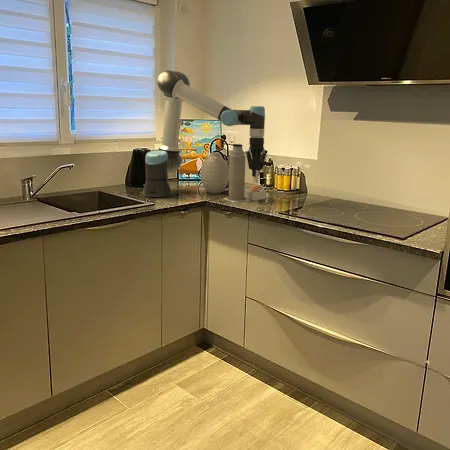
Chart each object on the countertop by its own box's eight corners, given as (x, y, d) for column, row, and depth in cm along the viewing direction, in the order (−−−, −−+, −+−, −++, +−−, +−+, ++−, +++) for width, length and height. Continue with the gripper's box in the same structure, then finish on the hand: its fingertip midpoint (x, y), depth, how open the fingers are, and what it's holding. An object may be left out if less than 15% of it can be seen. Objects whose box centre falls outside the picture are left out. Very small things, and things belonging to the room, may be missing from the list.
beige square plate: (223, 198, 245) (223, 197, 244) (239, 197, 250) (239, 196, 249) (233, 202, 236) (233, 201, 236) (249, 200, 241) (249, 199, 241)
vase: (226, 195, 253) (227, 154, 247) (197, 194, 255) (197, 153, 250) (230, 190, 268) (231, 151, 263) (203, 189, 271) (203, 150, 265)
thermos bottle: (243, 197, 247) (245, 143, 239) (244, 200, 239) (245, 145, 232) (228, 196, 247) (229, 143, 239) (228, 200, 239) (229, 144, 232)
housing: (244, 197, 249) (244, 190, 248) (256, 196, 253) (257, 188, 252) (253, 200, 242) (253, 192, 241) (265, 198, 246) (265, 191, 245)
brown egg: (249, 193, 248) (249, 185, 247) (256, 192, 250) (256, 185, 249) (254, 194, 244) (254, 187, 243) (261, 193, 246) (261, 186, 245)
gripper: (250, 137, 233) (249, 184, 239) (271, 137, 240) (269, 182, 246) (242, 136, 239) (241, 182, 245) (263, 136, 246) (261, 180, 252)
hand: (255, 182), depth 245 cm, fingers closed
